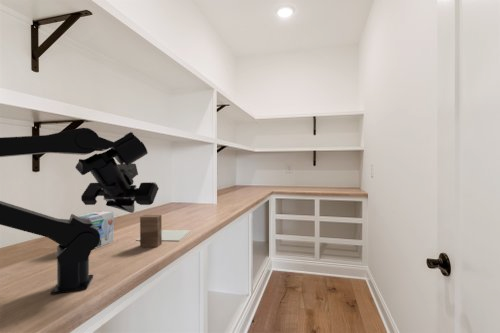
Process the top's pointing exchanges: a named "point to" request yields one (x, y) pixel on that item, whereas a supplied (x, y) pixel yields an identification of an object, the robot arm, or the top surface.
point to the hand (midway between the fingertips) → (132, 211)
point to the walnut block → (150, 231)
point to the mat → (172, 235)
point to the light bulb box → (102, 225)
